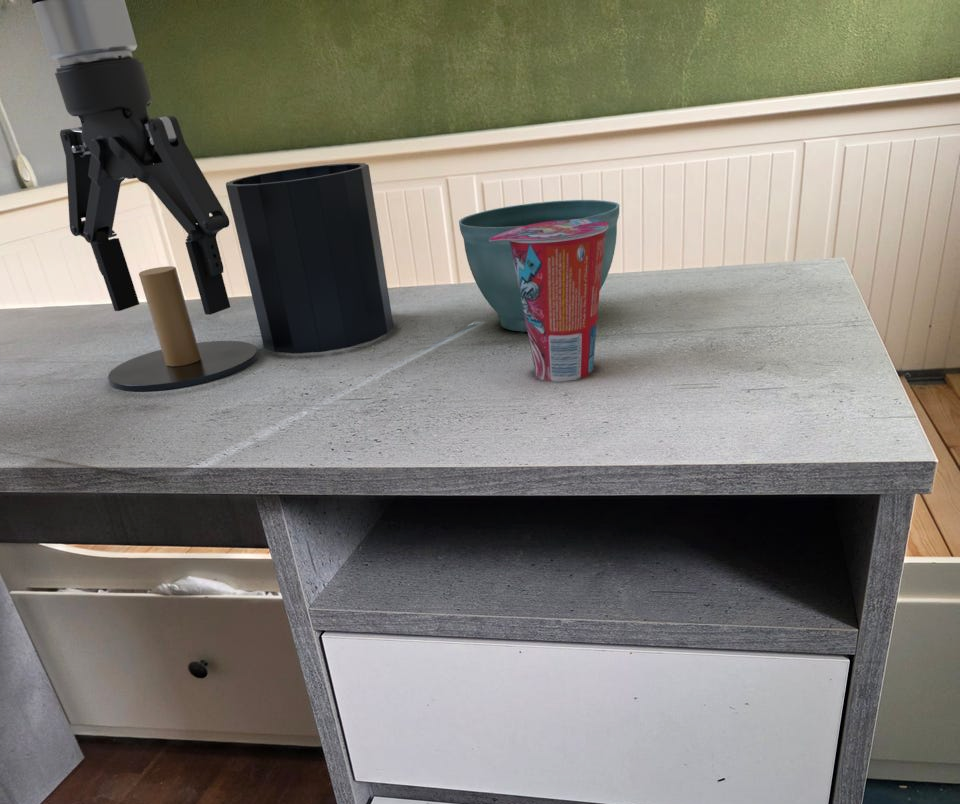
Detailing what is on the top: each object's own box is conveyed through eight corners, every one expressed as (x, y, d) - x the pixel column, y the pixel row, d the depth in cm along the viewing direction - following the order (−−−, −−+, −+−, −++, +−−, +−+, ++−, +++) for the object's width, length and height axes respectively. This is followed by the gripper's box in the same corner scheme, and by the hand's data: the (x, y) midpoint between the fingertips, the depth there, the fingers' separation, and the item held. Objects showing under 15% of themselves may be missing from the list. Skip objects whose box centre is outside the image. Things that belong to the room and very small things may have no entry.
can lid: (80, 390, 91) (43, 287, 85) (190, 348, 101) (164, 253, 96) (182, 403, 83) (148, 290, 78) (289, 355, 94) (267, 253, 88)
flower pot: (497, 305, 103) (488, 203, 97) (634, 301, 98) (633, 193, 92) (448, 345, 91) (434, 231, 85) (602, 342, 85) (599, 221, 79)
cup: (568, 353, 83) (561, 215, 77) (631, 369, 77) (630, 220, 71) (490, 379, 79) (476, 235, 73) (550, 397, 73) (541, 243, 67)
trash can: (237, 354, 97) (195, 187, 88) (321, 319, 106) (291, 166, 97) (338, 362, 90) (303, 182, 81) (418, 324, 99) (395, 159, 90)
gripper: (227, 39, 74) (286, 301, 85) (47, 71, 86) (120, 297, 97) (158, 45, 69) (231, 323, 80) (-23, 78, 81) (64, 315, 92)
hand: (171, 309), depth 89 cm, fingers open, 13 cm apart
